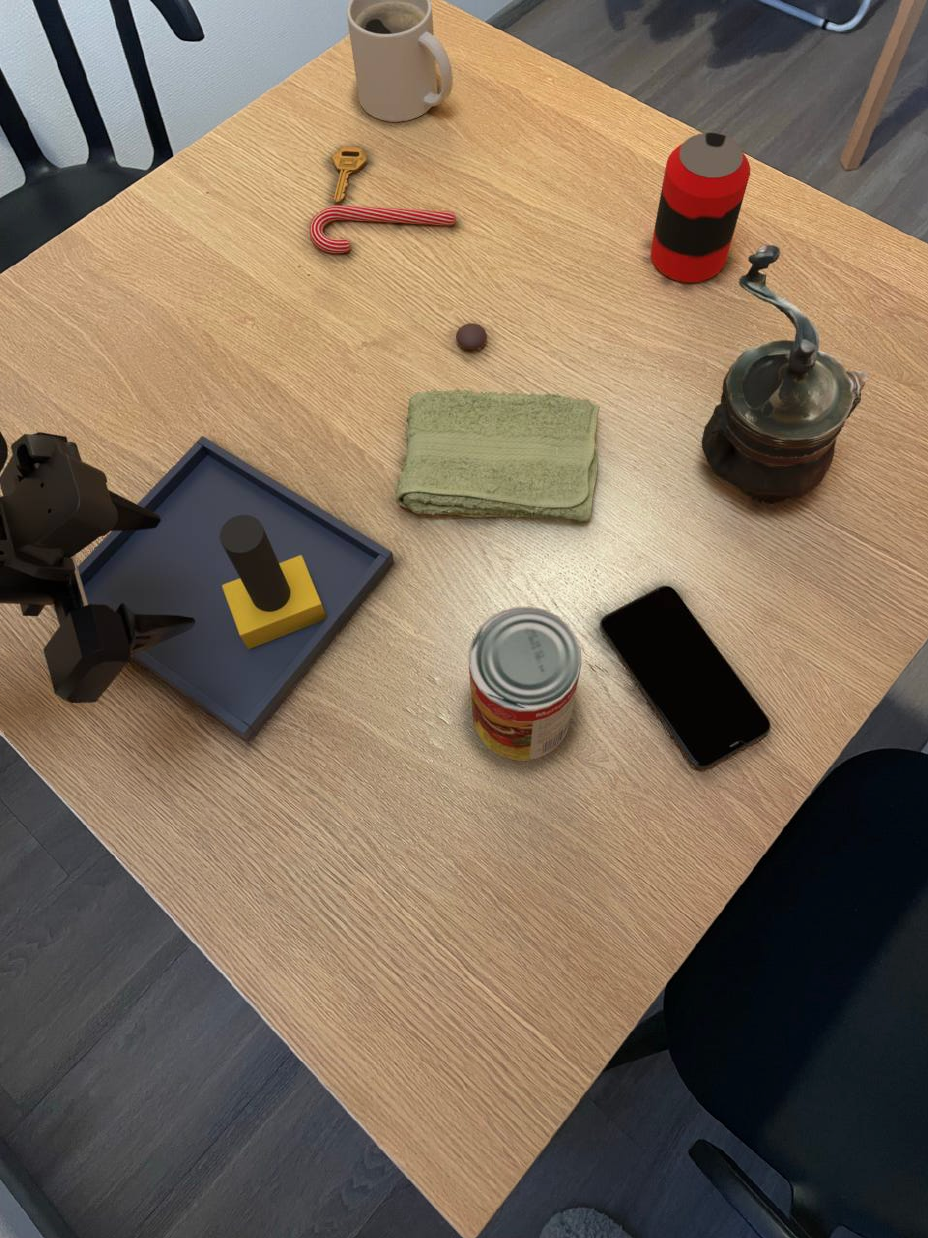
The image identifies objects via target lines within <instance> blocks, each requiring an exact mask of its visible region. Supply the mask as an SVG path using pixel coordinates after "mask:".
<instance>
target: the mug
mask: <svg viewBox="0 0 928 1238" xmlns="http://www.w3.org/2000/svg"><path fill="white" fill-rule="evenodd" d="M433 17H434V16H433V4H432V0H349V2H348V4H347V7H346V19H347V26H348V33H349V40H350V46H351V53H352V60H353V67H354V75H355V80H356V81H355V82H356V87H357V94H358V101H359V104H360V106H361V107H362V109H364V111H365V113H367V114H368V115H370V116H371V117H373V118H375V119H377V120H380V121H384V122H390V123H393V122H394V123H398V122H399V123H400V122H406V121H411V120H414V119H417V118H419V117H421V116H422V115H425V114H426V113H427V112H428V111H429V110H430V109H432V107H436V106H437V107H438V105H440V104H441V103H443V102H444V101H445V100H447V98H448V97H449V96H450V95H451V92H452V90H453V83H454V82H453V80H454V79H453V78H454V75H453V70H452V65H451V60H450V59H449V55H448V53H447V51H446V49H445V47H444V46H443V44H442V42H441V41H440V40H439V39H438V38H437V37H436V36H435V33H434V19H433ZM436 64H437V66H438V69H439V72H440V76H441V89H440V93H438V81H437V67H436Z"/></svg>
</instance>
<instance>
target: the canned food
mask: <svg viewBox="0 0 928 1238" xmlns="http://www.w3.org/2000/svg"><path fill="white" fill-rule="evenodd" d="M581 670H582V649H581V645H580V643H579V640H578V637H577V635H576V634H575V633H574V631H573V629H572V628H571V627H570V625H569V624H567V622H565V621H564V620H563V619H562V618H561V617H560V616H558V615H557V614H555V613H553V612H551V611H548V610H547V609H544V608H539V607H534V606H513V607H509V608H506V609H502V610H500V611H498V612H496V613H495V614H493V615H491V616H489V617H488V618H487V619H486V620H485V621H484V622H483V623H481V625H479V627H478V629H477V630H476V632H475V633H474V635H473V637H472V639H471V642H470V645H469V649H468V672H469V673H468V675H469V686H470V698H471V699H470V700H471V710H472V721H473V725H474V728H475V732H476V734H477V735H478V737H479V738H480V741H481V742H482V743H483V744H484V745H485V746H486V747H487V748H488V749H489V750H490V751H491V752H493V753H495V754H496V755H499V756H500V757H502V758H504V759H508V760H511V761H517V762H518V761H520V762H521V761H526V762H527V761H532V760H537V759H540V758H543V757H544V756H547V755H548V754H549V753H551V752H553V751H554V750H555V749H556V748H557V747H558V746H559V745H560V744H561V743H562V742H563V740H564V738H565V736H566V735H567V733H568V731H569V728H570V722H571V719H572V714H573V709H574V704H575V699H576V693H577V689H578V684H579V680H580V675H581Z"/></svg>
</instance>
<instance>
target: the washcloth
mask: <svg viewBox="0 0 928 1238" xmlns="http://www.w3.org/2000/svg"><path fill="white" fill-rule="evenodd" d="M600 408H601V406H600V405H598V404H594V403H592V402H591V401H590V400H589V399H581V398H575V397H574V398H573V397H571V396H565V395H559V394H558V393H545V394H540V393H539V394H535V393H533V392H532V393H530V394H527V393H516V392H509V393H506V392H505V391H504V392H500V393H499V392H497V391H494V392H492V391H488V392H487V391H481V392H476V391H473V390H467V389H464V390H460V389H455V390H444V391H443V390H438V391H437V390H436V389H432V390H429V391H428V390H426V391H423V392H419V391H418V392H415V394H412V395H411V396H410V397H409V399H408V407H407V410H408V411H407V418H406V422H407V428H406V431H405V437H406V438H404V440H405V442H407V446H406V454H405V456H406V457H405V461H403V464H402V467H401V469H400V475H399V477H398V479H397V486H396V488H395V498H396V499H395V501H396V503H397V504H398V505H399V506H401V507H402V508H405V509H408V510H411V511H412V512H413V513H415V514H417V515H418V514H419V515H420V514H421V515H425V514H426V515H431V516H436V515H442V514H443V515H454V516H455V515H457V516H459V517H462V518H479V519H481V518H503V517H505V518H506V517H507V518H509V517H511V518H547V517H548V518H551V517H558V518H559V519H566V520H567V519H571V520H576V521H578V522H580V523H582V522H586V521H590V518H591V514H592V506H593V495H594V489H595V485H596V481H597V473H598V467H599V461H598V460H599V457H598V450H597V446H596V442H595V437H596V432H597V431H596V430H597V421H598V416H599V412H600Z"/></svg>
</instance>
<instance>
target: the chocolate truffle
mask: <svg viewBox="0 0 928 1238" xmlns="http://www.w3.org/2000/svg"><path fill="white" fill-rule="evenodd" d="M487 339H488V334H487V331H486V329H485V328H484V327H483V326H482V325H480V324H479V323H474V322H473V323H471V322H469V323H466V324H463V325H461V326H460V327H459V328H458V330H457V331H456V334H455V340H456V343H457V344H458V346H459V347H461V348H462V349H464V350H468V351H476V350H479V349H481V348H482V347H483V346H484V345H485V344H486V342H487Z"/></svg>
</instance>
